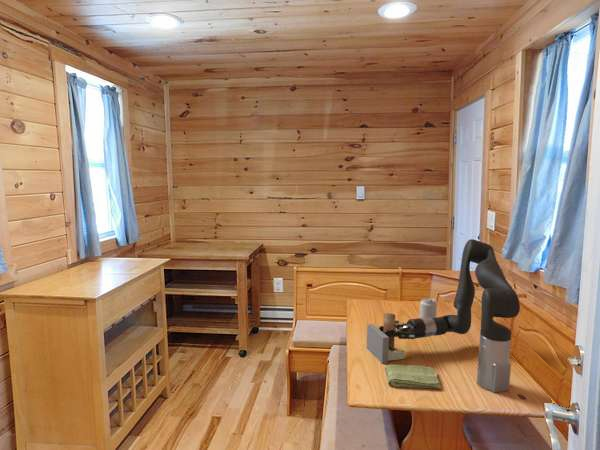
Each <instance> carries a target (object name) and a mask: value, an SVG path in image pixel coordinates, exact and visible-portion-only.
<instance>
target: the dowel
mask: <svg viewBox="0 0 600 450" xmlns="http://www.w3.org/2000/svg"><path fill="white" fill-rule="evenodd" d="M395 321H396V314H394V313H390V312H389V313H388V312H387V313H386V312H385V313H383V325H382V326H383V333H384V334H385V331H391V330H394V331H395ZM395 338H396V337H395V336H393V337H389V349H390V350H391V351H395Z"/></svg>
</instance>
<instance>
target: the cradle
mask: <svg viewBox="0 0 600 450" xmlns="http://www.w3.org/2000/svg"><path fill="white" fill-rule="evenodd" d="M405 353H406V351H405V350H404V349H401V350H400V349H399V350H394V351H391V350H390V349H389V348H388V362H390V361H397V360H405V358H406V357H405V356H406V354H405Z"/></svg>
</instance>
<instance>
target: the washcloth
mask: <svg viewBox="0 0 600 450" xmlns="http://www.w3.org/2000/svg"><path fill="white" fill-rule="evenodd" d="M384 370H385V374H386V376H387V384H388V385H389V387H393V388H404V389H407V388H409V389H433V390H440V389H441V388H442V385H441V383H440V379H439V377H438V375H437V373H436V369H435V368H434V367H429V366H424V365H404V364H403V365H402V364H387V365H385V366H384Z"/></svg>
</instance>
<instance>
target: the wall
mask: <svg viewBox="0 0 600 450" xmlns="http://www.w3.org/2000/svg"><path fill="white" fill-rule="evenodd" d="M366 327H367V328H366V349H367V350H368V351H369V352H370V353H371V355H373V356H374V357H375V358H376V359H377V360H378V362H380V363H381V364H388V363H389V361H388V348H389V337H388V336H387V335H386V334H384V333H383V332H382V331H381V330H380V329H379V327H377V326H376V325H375V324H374V323H368V324H367V325H366Z"/></svg>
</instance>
